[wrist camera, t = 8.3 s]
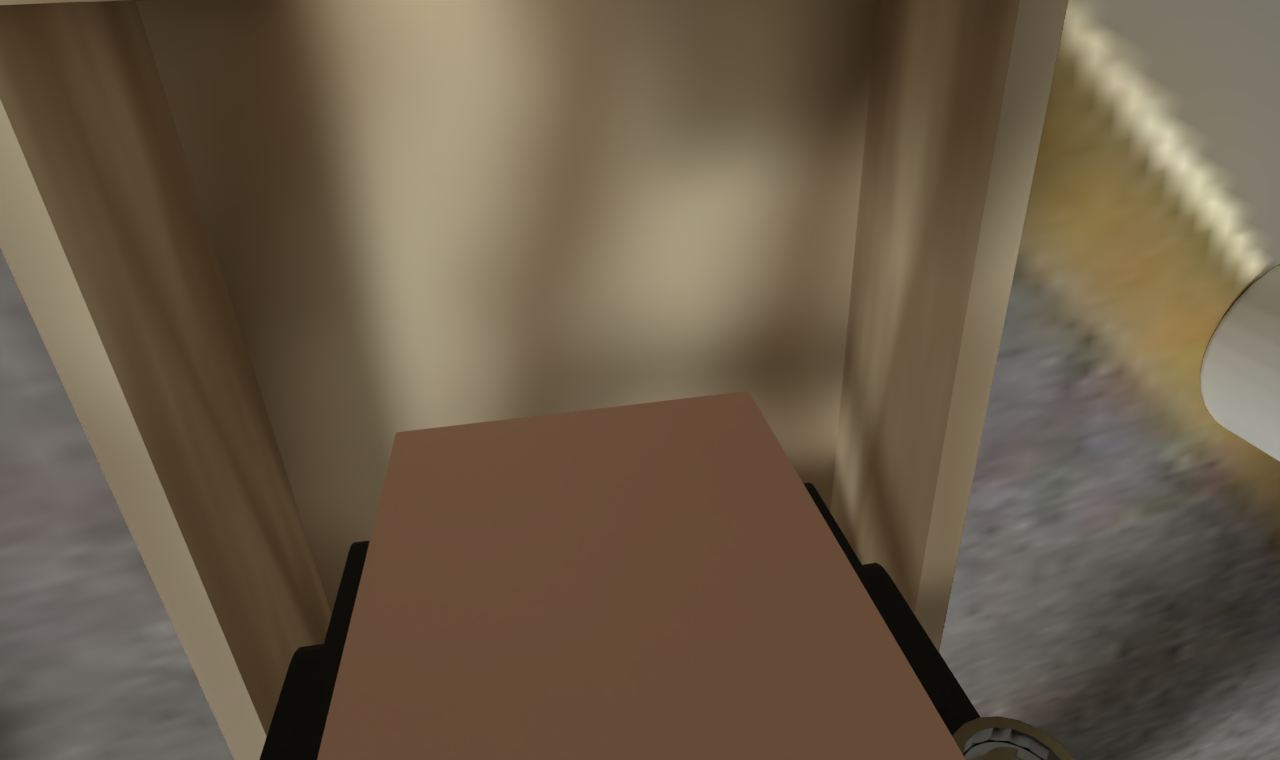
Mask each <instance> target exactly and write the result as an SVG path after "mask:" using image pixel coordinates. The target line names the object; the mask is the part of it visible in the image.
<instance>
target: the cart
mask: <svg viewBox="0 0 1280 760" xmlns="http://www.w3.org/2000/svg"><path fill="white" fill-rule="evenodd" d="M1067 4H1068V0H0V248H1V250H2V252H3V255H4V257H5V259H6V261H7V263H8V265H9V268H10V270H11V272H12V274H13V276H14V279H15V281H16V283H17V285H18V287H19V290H20V292H21V294H22V296H23V298H24V300H25V303H26V305H27V307H28V309H29V311H30V314H31V316H32V318H33V320H34V322H35V325H36V327H37V329H38V331H39V333H40V335H41V338H42V340H43V342H44V344H45V346H46V349H47V351H48V353H49V355H50V357H51V359H52V362H53V364H54V366H55V368H56V370H57V373H58V375H59V377H60V379H61V381H62V384H63V386H64V388H65V390H66V392H67V394H68V397H69V399H70V401H71V403H72V405H73V408H74V410H75V412H76V414H77V416H78V419H79V421H80V423H81V425H82V427H83V429H84V432H85V434H86V436H87V438H88V440H89V443H90V445H91V447H92V449H93V451H94V453H95V456H96V458H97V460H98V462H99V464H100V467H101V469H102V471H103V473H104V475H105V478H106V480H107V482H108V484H109V486H110V488H111V491H112V493H113V495H114V497H115V499H116V502H117V504H118V506H119V508H120V510H121V513H122V515H123V517H124V519H125V521H126V523H127V526H128V528H129V530H130V532H131V534H132V537H133V539H134V541H135V543H136V545H137V548H138V550H139V552H140V554H141V556H142V558H143V561H144V563H145V565H146V567H147V569H148V572H149V574H150V576H151V578H152V580H153V582H154V585H155V587H156V589H157V591H158V593H159V596H160V598H161V600H162V602H163V604H164V607H165V609H166V611H167V613H168V615H169V617H170V620H171V622H172V624H173V626H174V628H175V631H176V633H177V635H178V637H179V639H180V642H181V644H182V646H183V648H184V650H185V652H186V655H187V657H188V659H189V661H190V663H191V666H192V668H193V670H194V672H195V674H196V676H197V679H198V681H199V683H200V685H201V687H202V690H203V692H204V694H205V696H206V698H207V701H208V703H209V705H210V707H211V709H212V711H213V714H214V716H215V718H216V720H217V722H218V725H219V727H220V729H221V731H222V733H223V736H224V738H225V740H226V742H227V744H228V746H229V749H230V751H231V753H232V755H233V757H234V760H260V756H261V753H262V750H263V747H264V744H265V741H266V737H267V734H268V731H269V728H270V725H271V721H272V718H273V715H274V712H275V709H276V706H277V702H278V699H279V696H280V693H281V690H282V687H283V683H284V680H285V677H286V674H287V671H288V667H289V664H290V662H291V659H292V657H293V655H294V653H295V651H296V650H297V649H298V648H299V647H304V646H311V645H318V644H324V641H325V637H326V634H327V630H328V626H329V623H330V619H331V615H332V612H333V608H334V604H335V601H336V597H337V593H338V590H339V586H340V582H341V579H342V575H343V571H344V568H345V564H346V560H347V557H348V553H349V550H350V547H351V545H352V544H353V543H354V542H361V541H369V540H370V538H371V534H372V530H373V526H374V522H375V518H376V513H377V509H378V505H379V501H380V497H381V493H382V489H383V484H384V480H385V476H386V472H387V468H388V464H389V460H390V455H391V451H392V447H393V443H394V439H395V435H396V432H403V431H411V430H420V429H428V428H437V427H446V426H454V425H463V424H471V423H480V422H488V421H497V420H505V419H514V418H522V417H531V416H539V415H548V414H556V413H565V412H573V411H582V410H591V409H599V408H608V407H616V406H625V405H633V404H642V403H650V402H659V401H667V400H676V399H684V398H693V397H701V396H710V395H719V394H727V393H736V392H744V391H749V392H750V394H751V396H752V397H753V399H754V401H755V402H756V404H757V406H758V408H759V409H760V411H761V413H762V414H763V416H764V418H765V419H766V421H767V423H768V424H769V426H770V428H771V430H772V431H773V433H774V435H775V436H776V438H777V440H778V441H779V443H780V445H781V447H782V448H783V450H784V452H785V453H786V455H787V457H788V458H789V460H790V462H791V464H792V465H793V467H794V469H795V470H796V472H797V474H798V475H799V477H800V479H801V481H802V482H803V483H808V482H809V483H812V484H813V486H814V487H815V488H816V490H817V491H818V493H819V495H820V496H821V498H822V500H823V501H824V503H825V505H826V506H827V508H828V510H829V511H830V513H831V514H832V516H833V518H834V519H835V521H836V523H837V524H838V526H839V528H840V529H841V531H842V533H843V534H844V536H845V538H846V539H847V541H848V543H849V544H850V546H851V547H852V549H853V551H854V552H855V554H856V556H857V557H858V559H859V561H860V562H861V564H862V565H863V564H870V563H878V564H879V565H881V566H882V567H883V568H884V569H885V570H886V572H887V573H888V574H889V576H890V577H891V579H892V580H893V582H894V583H895V585H896V586H897V588H898V590H899V591H900V593H901V594H902V596H903V597H904V599H905V601H906V602H907V604H908V605H909V607H910V608H911V610H912V611H913V613H914V615H915V616H916V618H917V619H918V621H919V622H920V624H921V625H922V627H923V629H924V630H925V632H926V633H927V635H928V636H929V638H930V640H931V641H932V643H933V644H934V646H935V647H936V649H937V650H938V652H939V649H940V644H941V639H942V634H943V628H944V623H945V618H946V613H947V608H948V603H949V598H950V593H951V588H952V583H953V578H954V573H955V568H956V563H957V558H958V553H959V548H960V543H961V538H962V533H963V528H964V523H965V518H966V513H967V508H968V503H969V498H970V493H971V488H972V482H973V477H974V472H975V467H976V462H977V457H978V452H979V447H980V442H981V437H982V432H983V427H984V422H985V417H986V412H987V407H988V402H989V397H990V392H991V387H992V382H993V377H994V372H995V367H996V362H997V357H998V352H999V347H1000V342H1001V337H1002V331H1003V326H1004V321H1005V316H1006V311H1007V306H1008V301H1009V296H1010V291H1011V286H1012V281H1013V276H1014V271H1015V266H1016V261H1017V256H1018V251H1019V246H1020V241H1021V236H1022V231H1023V226H1024V221H1025V216H1026V211H1027V206H1028V201H1029V196H1030V191H1031V185H1032V180H1033V175H1034V170H1035V165H1036V160H1037V155H1038V150H1039V145H1040V140H1041V135H1042V130H1043V125H1044V120H1045V115H1046V110H1047V105H1048V100H1049V95H1050V90H1051V85H1052V80H1053V75H1054V70H1055V65H1056V60H1057V55H1058V50H1059V45H1060V40H1061V34H1062V29H1063V24H1064V19H1065V14H1066V9H1067Z"/></svg>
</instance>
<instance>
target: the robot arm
mask: <svg viewBox="0 0 1280 760" xmlns="http://www.w3.org/2000/svg"><path fill="white" fill-rule="evenodd" d="M803 484H804V486H805V487H806V489H807V491H808V492H809V494H810V496H811V498H812V499H813V501H814V503H815V504H816V506H817V508H818V509H819V511H820V513H821V514H822V516H823V518H824V520H825V521H826V523H827V525H828V526H829V528H830V530H831V531H832V533H833V535H834V537H835V538H836V540H837V542H838V543H839V545H840V547H841V548H842V550H843V552H844V554H845V555H846V557H847V559H848V560H849V562H850V564H851V565H852V567H853V569H854V571H855V572H856V574H857V576H858V577H859V579H860V581H861V582H862V584H863V586H864V588H865V589H866V591H867V593H868V594H869V596H870V598H871V599H872V601H873V603H874V604H875V606H876V608H877V610H878V611H879V613H880V615H881V616H882V618H883V620H884V621H885V623H886V625H887V627H888V628H889V630H890V632H891V633H892V635H893V637H894V638H895V640H896V642H897V644H898V645H899V647H900V649H901V650H902V652H903V654H904V655H905V657H906V659H907V661H908V662H909V664H910V666H911V667H912V669H913V671H914V672H915V674H916V676H917V678H918V679H919V681H920V683H921V684H922V686H923V688H924V689H925V691H926V693H927V694H928V696H929V698H930V700H931V701H932V703H933V705H934V706H935V708H936V710H937V711H938V713H939V715H940V717H941V718H942V720H943V722H944V723H945V725H946V727H947V728H948V730H949V732H950V734H951V735H952V737H953V739H954V740H955V742H956V744H957V745H958V747H959V749H960V751H961V752H962V754H963V756H964V757H965V759H966V760H1076V759H1075V758H1074V757H1073V756H1072V755H1071V754H1070V753H1069V752H1068V751H1067V750H1066V749H1065V748H1064V747H1063V746H1062V745H1061V744H1060V743H1059V742H1058V741H1056V740H1055V739H1053V738H1052V737H1050V736H1049V735H1047V734H1046V733H1045V732H1043V731H1042V730H1040V729H1038V728H1036V727H1033V726H1031V725H1029V724H1026V723H1024V722H1022V721H1019V720H1014V719H1009V718H1004V717H999V716H996V717H980V716H979V714H978V713H977V711H976V710H975V708H974V707H973V705H972V703H971V702H970V700H969V699H968V697H967V696H966V694H965V693H964V691H963V689H962V688H961V686H960V685H959V683H958V682H957V680H956V678H955V677H954V675H953V674H952V672H951V671H950V669H949V668H948V666H947V664H946V663H945V661H944V660H943V658H942V657H941V655H940V654H939V652H938V650H937V649H936V647H935V646H934V644H933V643H932V641H931V640H930V638H929V636H928V635H927V633H926V632H925V630H924V629H923V627H922V625H921V624H920V622H919V621H918V619H917V618H916V616H915V615H914V613H913V611H912V610H911V608H910V607H909V605H908V604H907V602H906V601H905V599H904V597H903V596H902V594H901V593H900V591H899V590H898V588H897V586H896V585H895V583H894V582H893V580H892V579H891V577H890V576H889V574H888V573H887V572H886V570H885V569H884V568H883V567H882V566H881V565H879V564H878V563H870V564H863V565H862V564H861V562H860V561H859V559H858V557H857V556H856V554H855V552H854V551H853V549H852V547H851V546H850V544H849V543H848V541H847V539H846V538H845V536H844V534H843V533H842V531H841V529H840V528H839V526H838V524H837V523H836V521H835V519H834V518H833V516H832V514H831V513H830V511H829V510H828V508H827V506H826V505H825V503H824V501H823V500H822V498H821V496H820V495H819V493H818V491H817V490H816V488H815V487H814V486H813V484H812V483H809V482H808V483H803ZM369 542H370V540H369V541H361V542H354V543H353V544H352V545H351V547H350V550H349V553H348V557H347V560H346V564H345V568H344V571H343V575H342V579H341V582H340V586H339V590H338V593H337V597H336V601H335V604H334V608H333V612H332V615H331V619H330V623H329V626H328V630H327V634H326V637H325V641H324V644H318V645H311V646H304V647H299V648H298V649H297V650H296V651H295V653H294V655H293V657H292V659H291V662H290V664H289V667H288V671H287V674H286V677H285V680H284V683H283V687H282V690H281V693H280V696H279V699H278V702H277V706H276V709H275V712H274V715H273V718H272V721H271V725H270V728H269V731H268V734H267V737H266V741H265V744H264V747H263V750H262V753H261V756H260V760H317V758H318V754H319V749H320V745H321V741H322V737H323V733H324V729H325V725H326V720H327V716H328V712H329V708H330V704H331V700H332V696H333V691H334V687H335V683H336V679H337V675H338V671H339V667H340V662H341V658H342V654H343V650H344V646H345V642H346V638H347V634H348V629H349V625H350V621H351V617H352V613H353V609H354V605H355V600H356V596H357V592H358V588H359V584H360V580H361V576H362V571H363V567H364V563H365V559H366V555H367V551H368V547H369Z"/></svg>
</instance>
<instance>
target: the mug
mask: <svg viewBox="0 0 1280 760" xmlns="http://www.w3.org/2000/svg"><path fill="white" fill-rule="evenodd" d="M1200 384H1201V393H1202V396H1203V400H1204V403H1205V405H1206V407H1207V409H1208V410H1209V412H1210V413H1211V415H1212V416H1213V418H1214V419H1215V420H1216V421H1217V422H1218V423H1219V424H1221V425H1222V426H1223V427H1225V428H1226V429H1228V430H1229V431H1231V432H1233V433H1234V434H1236V435H1238V436H1239V437H1241V438H1242V439H1244V440H1246V441H1247V442H1249V443H1251V444H1252V445H1254V446H1255V447H1257V448H1259V449H1260V450H1262V451H1263V452H1265V453H1267V454H1268V455H1270V456H1272V457H1273V458H1275V459H1276V460H1278V461H1280V264H1279V265H1277V266H1276V267H1274V268H1272V269H1271V270H1270V271H1268V272H1267V273H1266V274H1265V275H1263V276H1262V277H1261V278H1259V279H1258V280H1257V281H1256V282H1254V283H1253V284H1252V285H1251V286H1250V287H1249V288H1248V289H1247V290H1246V291H1245V292H1244V293H1243V294H1242V295H1241V296H1240V297H1239V298H1238V299H1237V300H1236V301H1235V303H1234V304H1233V305H1232V307H1231V308H1230V309H1229V310H1228V312H1227V313H1226V314H1225V316H1224V317H1223V318H1222V320H1221V321H1220V323H1219V325H1218V327H1217V328H1216V330H1215V332H1214V334H1213V335H1212V337H1211V339H1210V342H1209V344H1208V347H1207V349H1206V352H1205V355H1204V358H1203V363H1202V368H1201V373H1200Z"/></svg>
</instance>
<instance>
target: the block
mask: <svg viewBox="0 0 1280 760" xmlns="http://www.w3.org/2000/svg"><path fill="white" fill-rule="evenodd" d="M317 760H966V759H965V757H964V756H963V754H962V752H961V751H960V749H959V747H958V745H957V744H956V742H955V740H954V739H953V737H952V735H951V734H950V732H949V730H948V728H947V727H946V725H945V723H944V722H943V720H942V718H941V717H940V715H939V713H938V711H937V710H936V708H935V706H934V705H933V703H932V701H931V700H930V698H929V696H928V694H927V693H926V691H925V689H924V688H923V686H922V684H921V683H920V681H919V679H918V678H917V676H916V674H915V672H914V671H913V669H912V667H911V666H910V664H909V662H908V661H907V659H906V657H905V655H904V654H903V652H902V650H901V649H900V647H899V645H898V644H897V642H896V640H895V638H894V637H893V635H892V633H891V632H890V630H889V628H888V627H887V625H886V623H885V621H884V620H883V618H882V616H881V615H880V613H879V611H878V610H877V608H876V606H875V604H874V603H873V601H872V599H871V598H870V596H869V594H868V593H867V591H866V589H865V588H864V586H863V584H862V582H861V581H860V579H859V577H858V576H857V574H856V572H855V571H854V569H853V567H852V565H851V564H850V562H849V560H848V559H847V557H846V555H845V554H844V552H843V550H842V548H841V547H840V545H839V543H838V542H837V540H836V538H835V537H834V535H833V533H832V531H831V530H830V528H829V526H828V525H827V523H826V521H825V520H824V518H823V516H822V514H821V513H820V511H819V509H818V508H817V506H816V504H815V503H814V501H813V499H812V498H811V496H810V494H809V492H808V491H807V489H806V487H805V486H804V484H803V482H802V481H801V479H800V477H799V475H798V474H797V472H796V470H795V469H794V467H793V465H792V464H791V462H790V460H789V458H788V457H787V455H786V453H785V452H784V450H783V448H782V447H781V445H780V443H779V441H778V440H777V438H776V436H775V435H774V433H773V431H772V430H771V428H770V426H769V424H768V423H767V421H766V419H765V418H764V416H763V414H762V413H761V411H760V409H759V408H758V406H757V404H756V402H755V401H754V399H753V397H752V396H751V394H750V392H749V391H744V392H736V393H727V394H719V395H710V396H701V397H693V398H684V399H676V400H667V401H659V402H650V403H642V404H633V405H625V406H616V407H608V408H599V409H591V410H582V411H573V412H565V413H556V414H548V415H539V416H531V417H522V418H514V419H505V420H497V421H488V422H480V423H471V424H463V425H454V426H446V427H437V428H428V429H420V430H411V431H403V432H396V435H395V439H394V443H393V447H392V451H391V455H390V460H389V464H388V468H387V472H386V476H385V480H384V484H383V489H382V493H381V497H380V501H379V505H378V509H377V513H376V518H375V522H374V526H373V530H372V534H371V538H370V542H369V547H368V551H367V555H366V559H365V563H364V567H363V571H362V576H361V580H360V584H359V588H358V592H357V596H356V600H355V605H354V609H353V613H352V617H351V621H350V625H349V629H348V634H347V638H346V642H345V646H344V650H343V654H342V658H341V662H340V667H339V671H338V675H337V679H336V683H335V687H334V691H333V696H332V700H331V704H330V708H329V712H328V716H327V720H326V725H325V729H324V733H323V737H322V741H321V745H320V749H319V754H318V758H317Z"/></svg>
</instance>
